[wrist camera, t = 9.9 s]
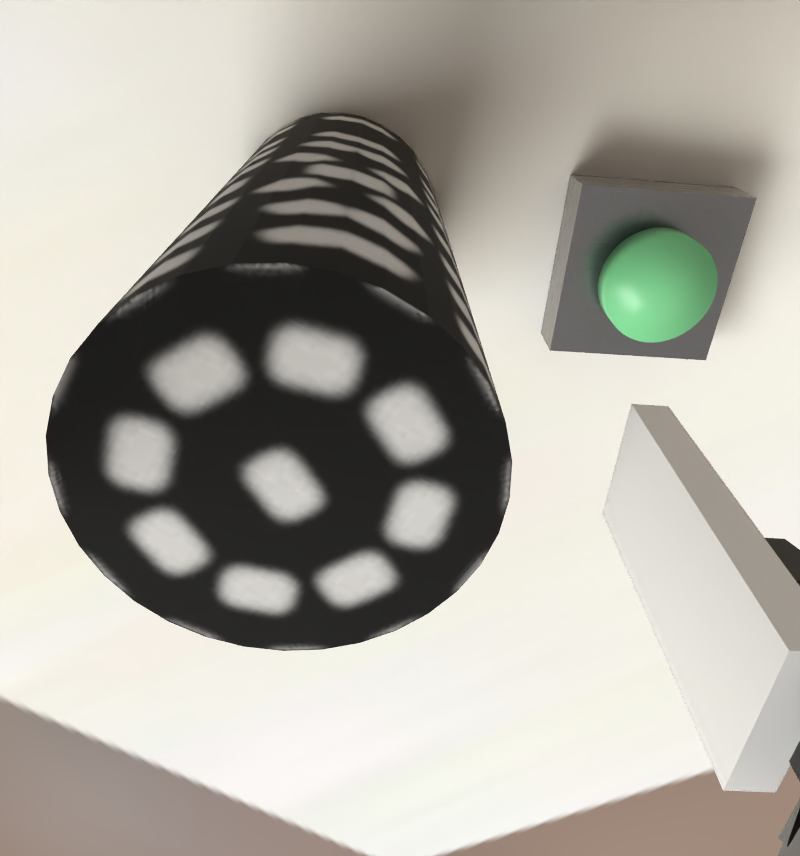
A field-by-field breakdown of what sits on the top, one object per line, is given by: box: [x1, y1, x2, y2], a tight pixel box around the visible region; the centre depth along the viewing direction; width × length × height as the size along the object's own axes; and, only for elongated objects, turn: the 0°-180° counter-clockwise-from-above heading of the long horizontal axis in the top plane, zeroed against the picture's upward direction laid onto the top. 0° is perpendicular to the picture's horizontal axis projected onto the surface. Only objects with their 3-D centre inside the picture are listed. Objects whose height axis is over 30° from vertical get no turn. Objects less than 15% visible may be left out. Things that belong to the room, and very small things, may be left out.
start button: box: [598, 228, 718, 342], centre depth 30 cm, size 4×4×3 cm
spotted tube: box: [46, 113, 512, 651], centre depth 22 cm, size 8×8×20 cm
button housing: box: [541, 175, 756, 360], centre depth 31 cm, size 7×7×2 cm
